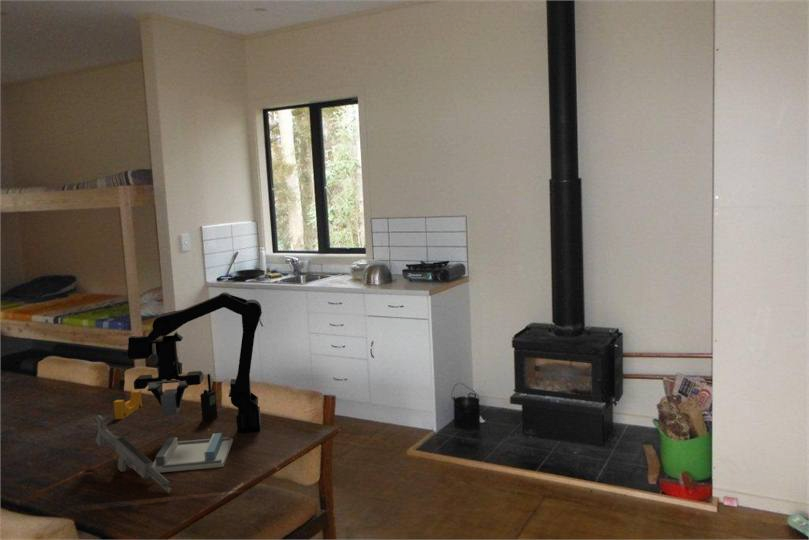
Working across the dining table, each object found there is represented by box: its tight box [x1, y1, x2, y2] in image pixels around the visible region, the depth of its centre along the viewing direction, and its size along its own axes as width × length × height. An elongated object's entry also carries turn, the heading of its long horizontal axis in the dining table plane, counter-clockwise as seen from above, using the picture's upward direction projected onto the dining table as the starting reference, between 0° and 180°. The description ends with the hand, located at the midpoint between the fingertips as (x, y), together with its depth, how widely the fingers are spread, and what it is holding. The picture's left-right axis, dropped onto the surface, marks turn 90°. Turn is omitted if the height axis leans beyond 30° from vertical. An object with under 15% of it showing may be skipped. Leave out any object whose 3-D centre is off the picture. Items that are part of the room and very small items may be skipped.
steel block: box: [160, 388, 182, 416], centre depth 194 cm, size 4×6×6 cm, turn 7°
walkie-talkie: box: [200, 373, 218, 423], centre depth 209 cm, size 5×3×15 cm
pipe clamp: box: [113, 390, 143, 420], centre depth 220 cm, size 12×4×6 cm, turn 171°
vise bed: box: [152, 436, 234, 474], centre depth 180 cm, size 19×18×4 cm
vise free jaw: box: [204, 432, 224, 461], centre depth 181 cm, size 2×14×2 cm, turn 7°
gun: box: [95, 414, 172, 494], centre depth 169 cm, size 36×4×10 cm, turn 50°
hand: (171, 408), depth 194 cm, fingers closed on steel block, 4 cm apart
